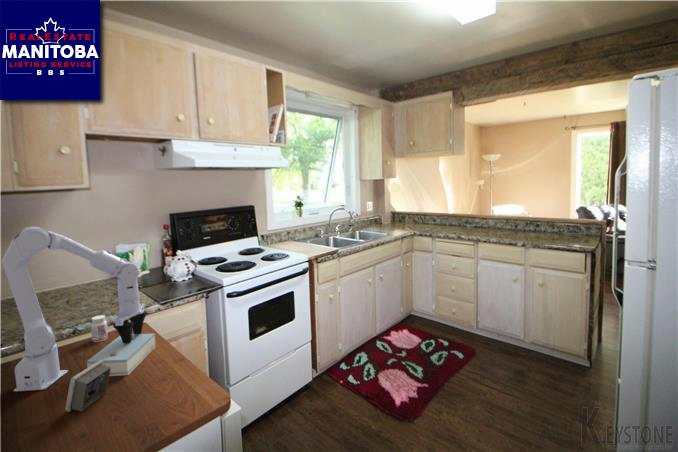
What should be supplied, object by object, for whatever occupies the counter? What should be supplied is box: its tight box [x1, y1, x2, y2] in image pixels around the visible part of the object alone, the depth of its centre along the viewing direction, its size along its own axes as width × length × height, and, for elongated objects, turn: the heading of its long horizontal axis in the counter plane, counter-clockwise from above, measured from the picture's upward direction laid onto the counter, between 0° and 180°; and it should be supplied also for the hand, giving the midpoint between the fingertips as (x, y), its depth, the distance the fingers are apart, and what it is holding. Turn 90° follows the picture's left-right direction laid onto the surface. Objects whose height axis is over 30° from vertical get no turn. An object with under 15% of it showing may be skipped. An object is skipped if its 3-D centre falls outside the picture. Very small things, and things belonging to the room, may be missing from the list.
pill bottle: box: [90, 314, 109, 343], centre depth 124 cm, size 5×5×8 cm
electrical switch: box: [65, 360, 111, 413], centre depth 87 cm, size 9×5×9 cm, turn 173°
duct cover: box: [86, 333, 156, 365], centre depth 108 cm, size 18×11×1 cm, turn 5°
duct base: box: [86, 335, 157, 377], centre depth 108 cm, size 18×11×4 cm, turn 5°
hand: (132, 338), depth 113 cm, fingers open, 6 cm apart
